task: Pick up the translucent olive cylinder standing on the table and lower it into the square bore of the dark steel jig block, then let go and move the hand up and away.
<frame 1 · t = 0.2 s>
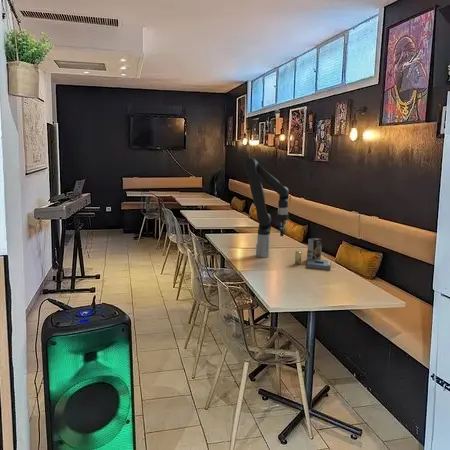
hand: (282, 235, 341), 18 cm above the table, tool pointing down, fingers open, 8 cm apart
translucent olive cylinder: (297, 264, 328), on the table
jig: (318, 266, 324), on the table
coffee box: (313, 260, 343), on the table
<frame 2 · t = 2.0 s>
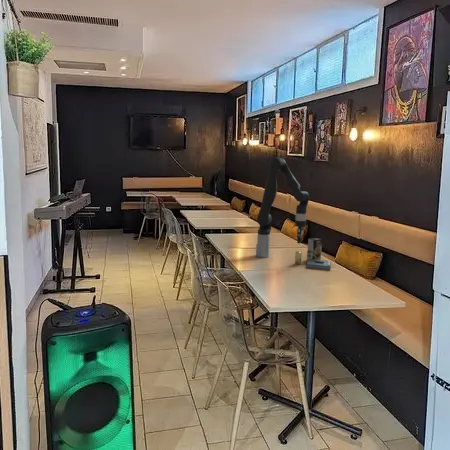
hand: (299, 242, 326), 16 cm above the table, tool pointing down, fingers open, 8 cm apart
nothing on the table moved.
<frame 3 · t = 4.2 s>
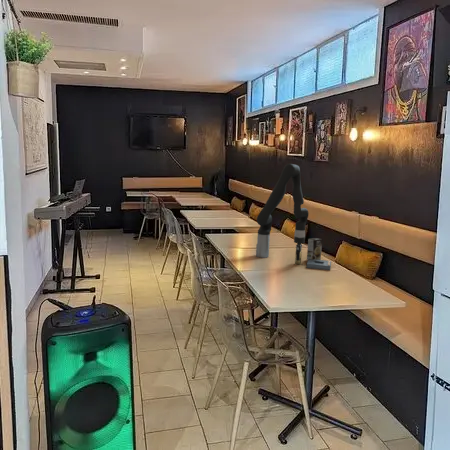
hand: (298, 259, 328), 3 cm above the table, tool pointing down, fingers closed on translucent olive cylinder, 4 cm apart
translucent olive cylinder: (297, 264, 328), on the table, touching gripper
everything else where it was.
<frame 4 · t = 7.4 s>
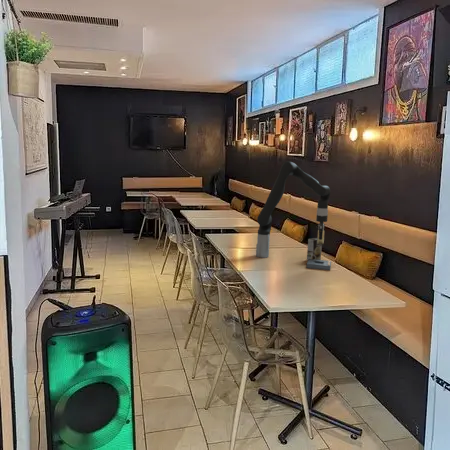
hand: (320, 238, 321), 20 cm above the table, tool pointing down, fingers closed on translucent olive cylinder, 4 cm apart
translucent olive cylinder: (320, 243, 321), point 17 cm above the table, touching gripper
everything else where it was.
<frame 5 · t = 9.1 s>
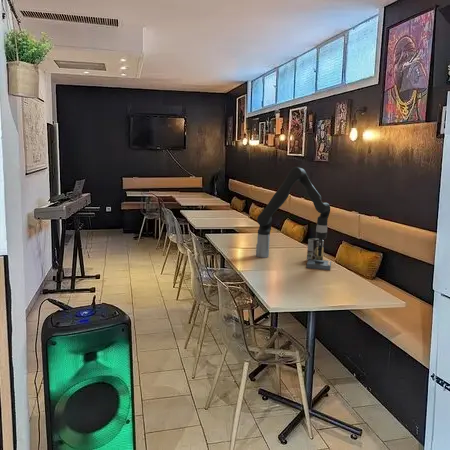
hand: (319, 255, 322), 8 cm above the table, tool pointing down, fingers closed on translucent olive cylinder, 4 cm apart
translucent olive cylinder: (319, 259, 323), point 5 cm above the table, touching gripper
everything else where it was.
when the fingers open (5 cm above the table, at t = 10.5 s): translucent olive cylinder drops 1 cm, resting in jig.
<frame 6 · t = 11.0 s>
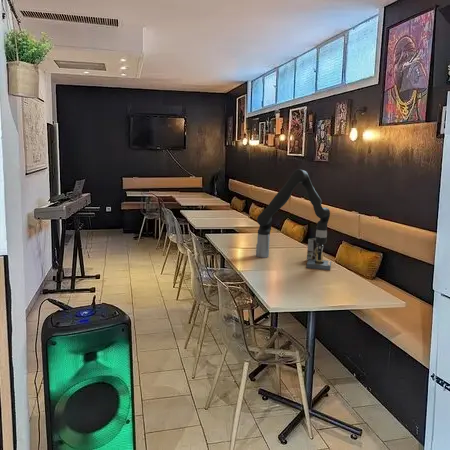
hand: (319, 258, 323), 6 cm above the table, tool pointing down, fingers open, 8 cm apart
translucent olive cylinder: (318, 266, 324), resting in jig
everything else where it was.
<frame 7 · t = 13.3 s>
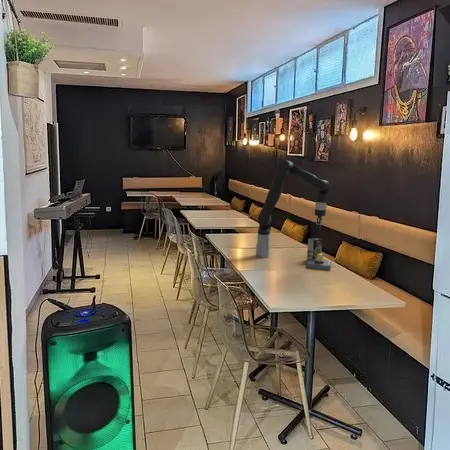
hand: (318, 231, 323), 24 cm above the table, tool pointing down, fingers open, 8 cm apart
nothing on the table moved.
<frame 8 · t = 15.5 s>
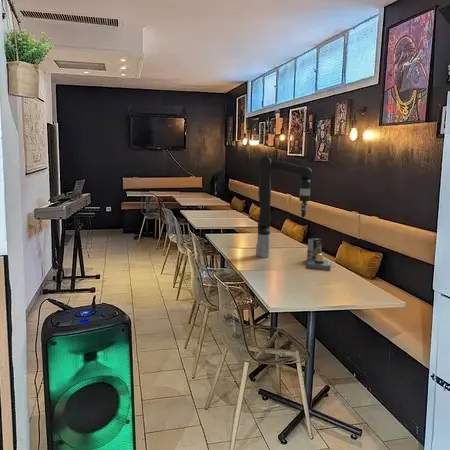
hand: (303, 216, 341), 32 cm above the table, tool pointing down, fingers open, 8 cm apart
nothing on the table moved.
at the end: translucent olive cylinder 0.0 cm off-centre in the jig, point 0.0 cm above the jig's base; translucent olive cylinder tilted 0°; the gripper is holding nothing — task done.
